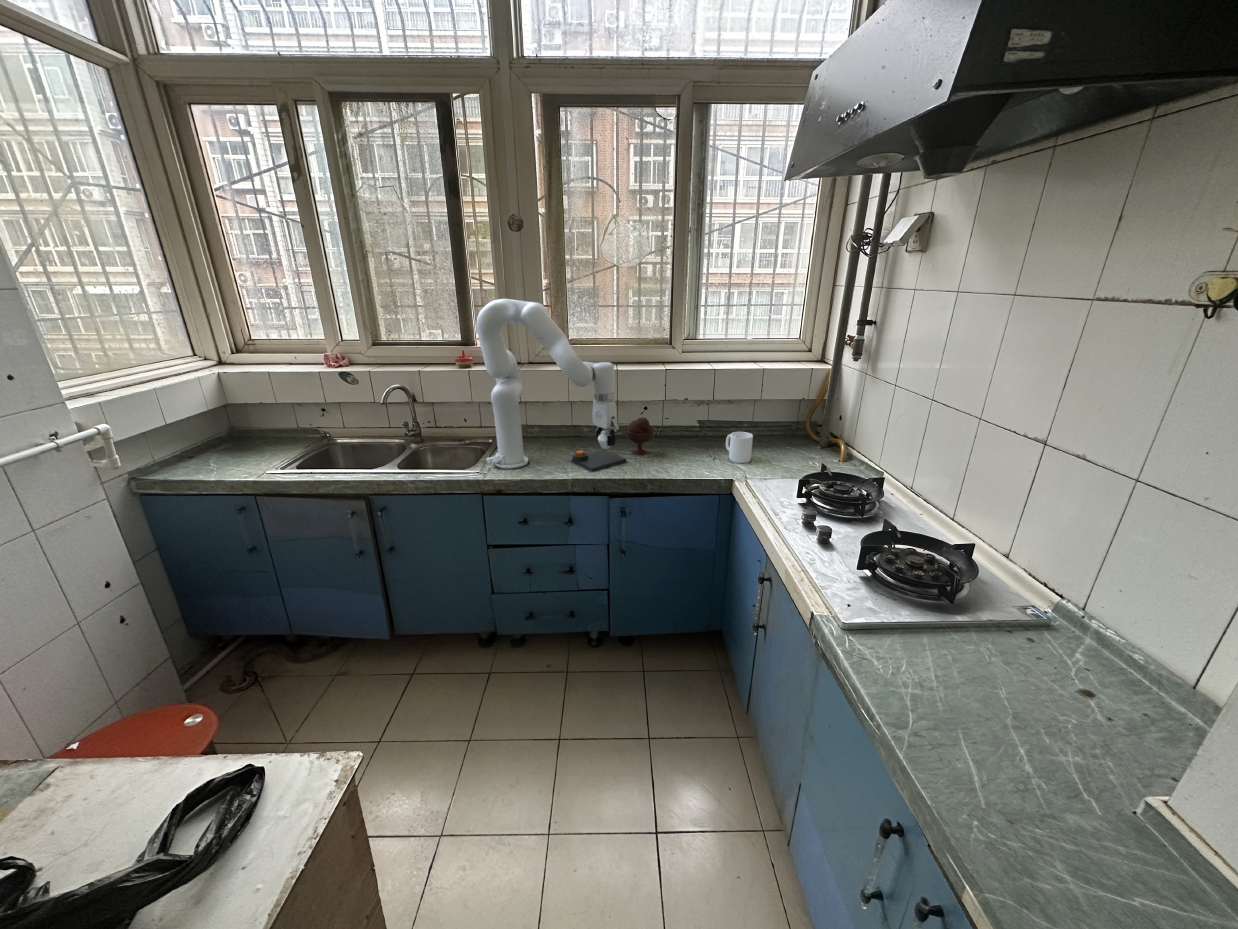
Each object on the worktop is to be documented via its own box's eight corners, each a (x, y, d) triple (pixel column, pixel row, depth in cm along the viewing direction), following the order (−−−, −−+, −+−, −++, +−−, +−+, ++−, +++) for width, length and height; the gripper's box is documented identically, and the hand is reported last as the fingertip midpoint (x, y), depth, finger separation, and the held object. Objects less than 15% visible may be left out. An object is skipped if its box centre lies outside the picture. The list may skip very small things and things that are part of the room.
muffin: (602, 451, 186) (601, 433, 184) (595, 446, 191) (594, 429, 189) (616, 448, 189) (616, 430, 187) (609, 443, 194) (609, 426, 192)
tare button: (579, 457, 190) (579, 453, 190) (575, 455, 192) (575, 451, 192) (585, 455, 192) (585, 451, 191) (581, 453, 194) (581, 449, 193)
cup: (739, 465, 188) (742, 439, 184) (717, 456, 197) (719, 431, 194) (755, 460, 192) (757, 435, 189) (732, 452, 202) (734, 428, 198)
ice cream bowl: (653, 448, 207) (653, 413, 201) (652, 457, 196) (652, 421, 191) (627, 447, 208) (627, 413, 202) (625, 457, 197) (625, 420, 192)
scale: (591, 472, 183) (591, 464, 182) (570, 461, 193) (570, 454, 192) (626, 462, 192) (626, 454, 191) (604, 452, 203) (604, 445, 202)
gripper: (583, 394, 187) (584, 439, 194) (610, 402, 175) (611, 450, 181) (599, 391, 192) (600, 435, 198) (627, 399, 179) (627, 446, 185)
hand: (605, 442), depth 190 cm, fingers closed on muffin, 6 cm apart
